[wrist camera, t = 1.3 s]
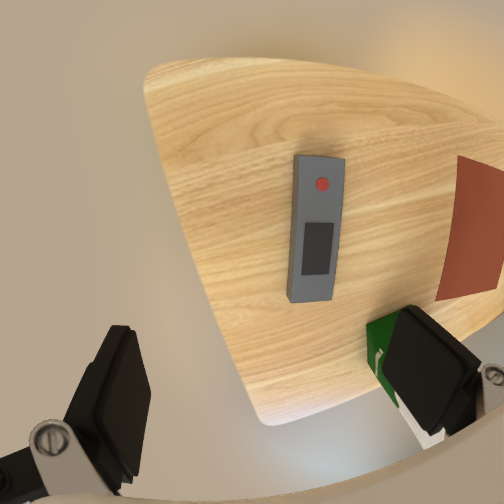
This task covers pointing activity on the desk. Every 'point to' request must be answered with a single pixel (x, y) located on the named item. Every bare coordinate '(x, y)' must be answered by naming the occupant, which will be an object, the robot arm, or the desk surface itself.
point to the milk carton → (376, 352)
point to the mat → (474, 232)
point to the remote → (315, 227)
